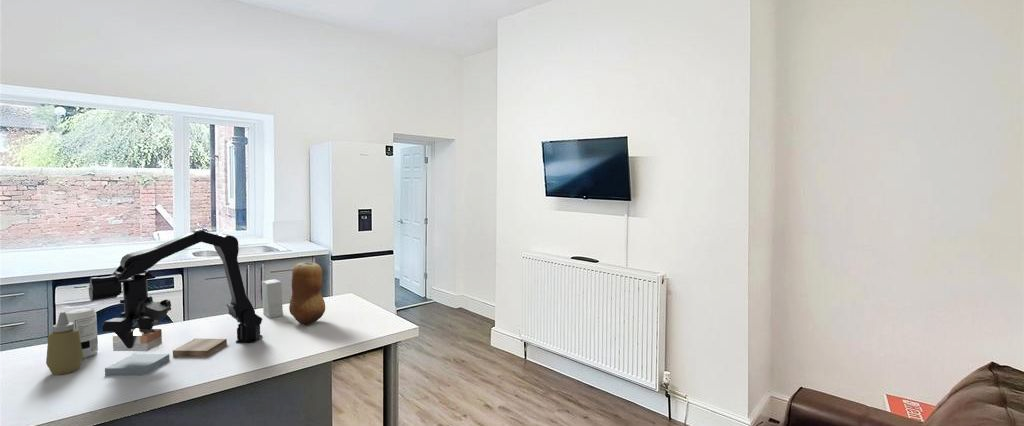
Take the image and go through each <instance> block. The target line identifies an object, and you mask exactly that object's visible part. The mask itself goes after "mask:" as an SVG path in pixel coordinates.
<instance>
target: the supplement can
mask: <svg viewBox="0 0 1024 426" xmlns="http://www.w3.org/2000/svg"><path fill="white" fill-rule="evenodd" d="M64 312H65V313H66V316H67V318H68V321H69V322H72V323H74V329H76V330H78V331H79V336H80V342H81V347H82V352H83V359H85V358H89V357H91V356H94V355H95V354H96V353H97V352H99V345H98V340H99V339H98V324H97V323H98V322H97V318H98V317H97V312H96V310H94V308H93V307H89V306H88V307H76V308H72V309H68V310H65V311H64Z"/></svg>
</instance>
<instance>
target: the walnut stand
mask: <svg viewBox="0 0 1024 426" xmlns="http://www.w3.org/2000/svg"><path fill="white" fill-rule="evenodd" d="M227 340H228V339H227V338H193V339H192V340H190V341H187V342H186V343H184V344H182V345H180V346H178V347H177V348H175V349H172V357H193V358H194V357H197V358H199V357H201V358H202V357H205V358H206V357H209V356H211V355H212V354H214V353H216V352H217V351H218V350H220V349H221V348H224V347H225V346H226V345H228V341H227Z"/></svg>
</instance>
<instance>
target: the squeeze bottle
mask: <svg viewBox="0 0 1024 426" xmlns="http://www.w3.org/2000/svg"><path fill="white" fill-rule="evenodd" d="M51 327H52V329H51V331H52V332H50V333H49V334H48V336H47V346H46V347H47V349H46V358H45V359H46V361H45V364H46V366H47V368H48V370H49V371H50V372H51V374H52V375H58V376H59V375H64V374H69V373H70V374H71V373H73V372H75V371H77V370H79V369H80V367H81V364H82V361H83V359H84V358H83V352H82V347H81V342H80V336H79V331H78V330H76V329H74V323H72V322H69V321H68V318H67V316H66V313H65V311H61V312H60V313H59V314H58V319H57V323H56V324H54V325H51Z"/></svg>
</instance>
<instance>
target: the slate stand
mask: <svg viewBox="0 0 1024 426" xmlns="http://www.w3.org/2000/svg"><path fill="white" fill-rule="evenodd" d="M170 358H171V357H170V353H133V354H131V355H129V356H126V357H125V358H123V359H121V360H119V361H117V362H115V363H113V364H110V365H109V366H107V367H105V368H104V375H105V376H106V375H107V376H112V375H113V376H144V375H146V374H147V373H150V372H151V371H153V370H155V369H156V368H158V367H160V366H162V365H164V364H165V363H167V362H168V361H170V360H171V359H170Z"/></svg>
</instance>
